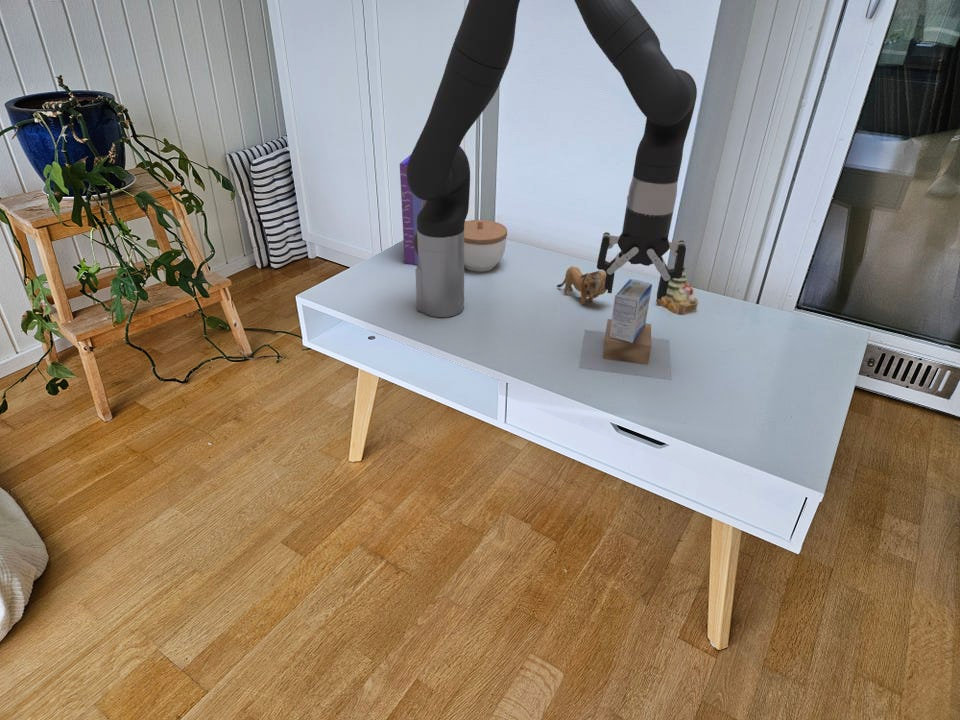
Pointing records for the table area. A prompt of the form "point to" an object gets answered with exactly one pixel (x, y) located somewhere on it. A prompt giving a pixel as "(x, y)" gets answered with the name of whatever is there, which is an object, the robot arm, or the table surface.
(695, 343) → the table surface
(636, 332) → the medicine box
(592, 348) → the plate
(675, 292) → the ornament
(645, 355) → the base brick
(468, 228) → the lidded bowl
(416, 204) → the cereal box
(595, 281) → the lion figurine
